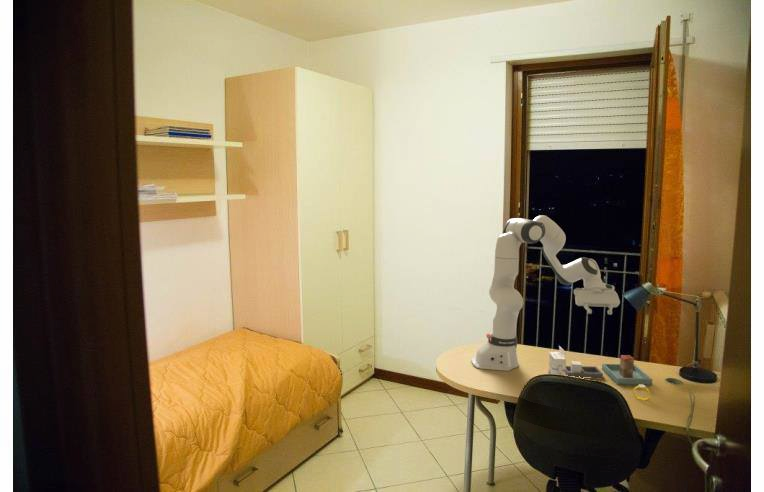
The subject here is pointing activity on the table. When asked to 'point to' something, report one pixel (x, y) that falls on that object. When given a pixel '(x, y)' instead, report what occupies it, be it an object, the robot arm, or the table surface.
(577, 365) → the pale grey fuse
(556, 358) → the ink cartridge box
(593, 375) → the fuse rack
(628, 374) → the cylinder
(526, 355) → the table surface
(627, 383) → the slate-green tray
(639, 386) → the gold ring
